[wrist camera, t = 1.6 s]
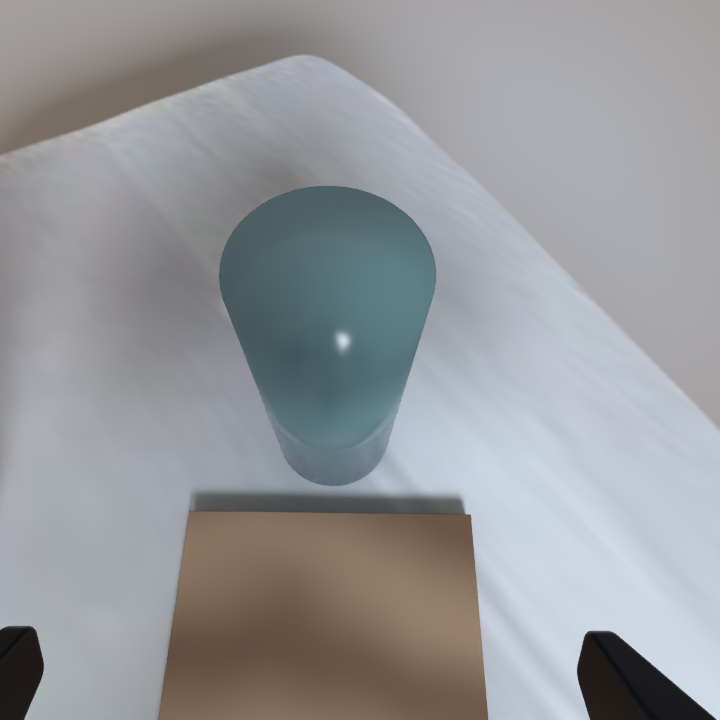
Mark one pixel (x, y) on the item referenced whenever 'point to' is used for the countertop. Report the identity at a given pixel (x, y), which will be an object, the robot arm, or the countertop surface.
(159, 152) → the countertop surface
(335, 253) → the cylinder
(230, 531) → the walnut board
